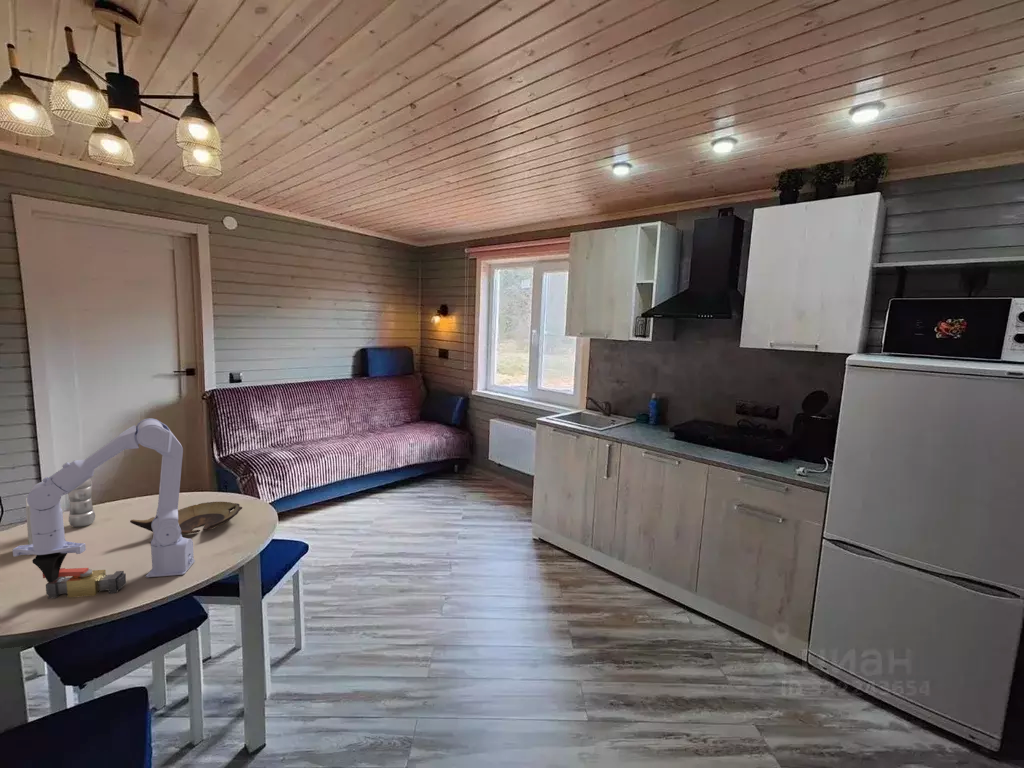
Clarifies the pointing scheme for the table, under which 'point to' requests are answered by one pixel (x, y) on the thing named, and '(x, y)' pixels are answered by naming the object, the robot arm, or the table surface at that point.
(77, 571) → the lever
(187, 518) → the olive brown leaf dish
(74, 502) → the plastic bottle
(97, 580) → the pipe valve
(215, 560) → the table surface
